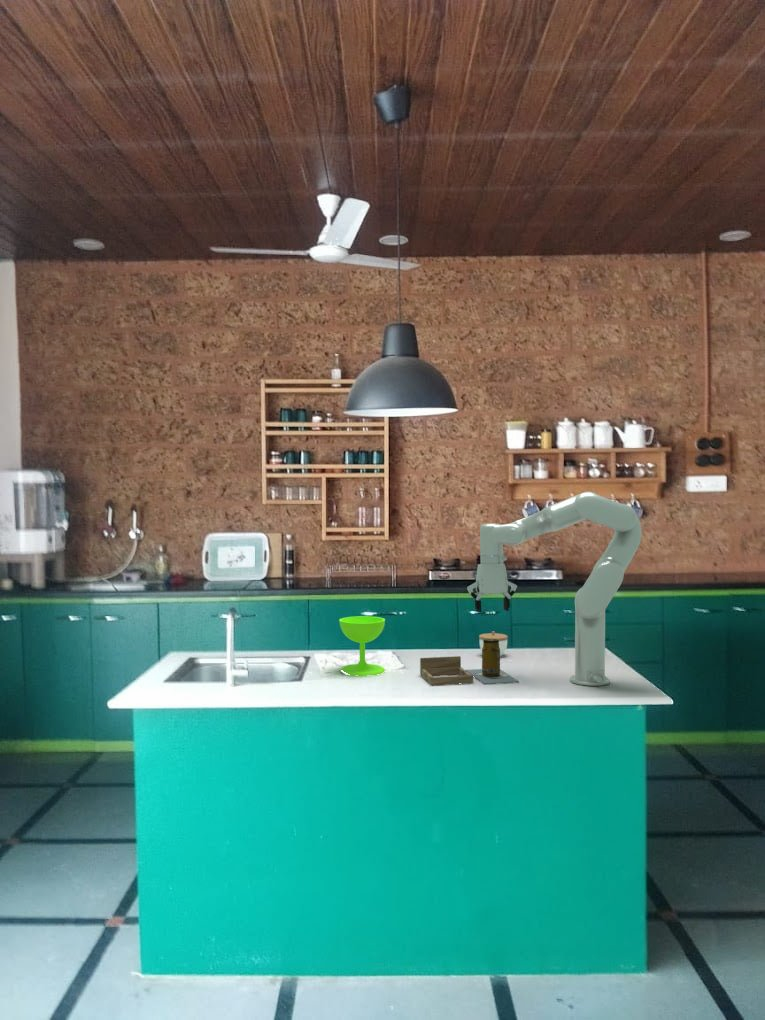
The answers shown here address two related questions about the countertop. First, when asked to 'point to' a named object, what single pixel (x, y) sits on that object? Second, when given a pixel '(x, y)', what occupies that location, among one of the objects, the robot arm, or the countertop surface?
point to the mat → (491, 680)
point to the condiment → (491, 659)
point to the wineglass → (362, 641)
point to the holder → (444, 670)
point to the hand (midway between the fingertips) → (492, 611)
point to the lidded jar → (493, 635)
